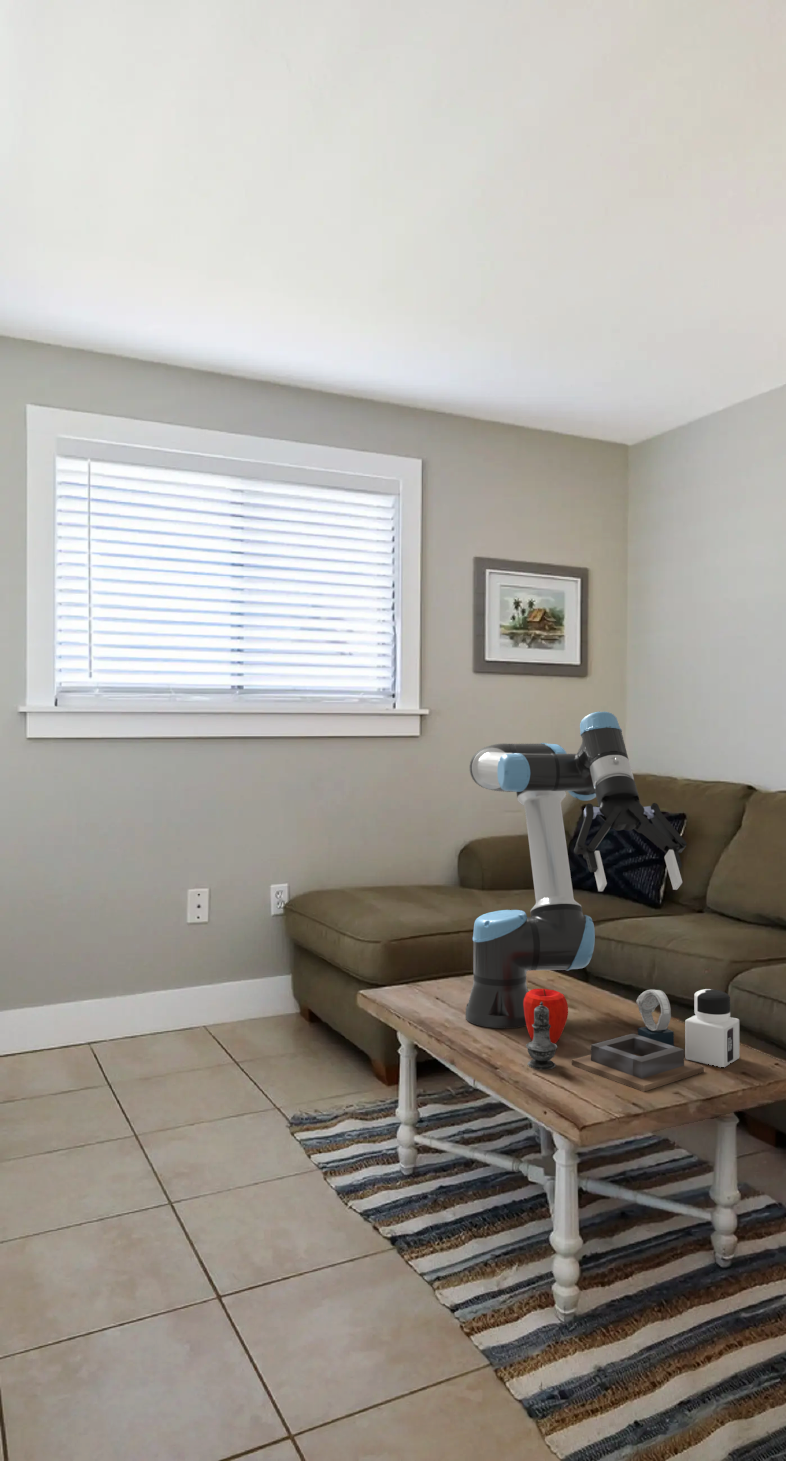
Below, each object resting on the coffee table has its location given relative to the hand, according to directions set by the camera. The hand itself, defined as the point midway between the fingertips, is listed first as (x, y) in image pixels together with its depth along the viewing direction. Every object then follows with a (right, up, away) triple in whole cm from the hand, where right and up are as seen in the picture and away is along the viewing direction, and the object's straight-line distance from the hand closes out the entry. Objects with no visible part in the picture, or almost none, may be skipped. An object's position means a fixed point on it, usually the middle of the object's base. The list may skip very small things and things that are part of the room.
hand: (640, 887), depth 165 cm
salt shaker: (-15, -36, +15) cm, 42 cm away
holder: (+3, -36, +13) cm, 38 cm away
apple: (-12, -37, +28) cm, 48 cm away
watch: (+10, -37, +27) cm, 47 cm away
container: (+19, -36, +18) cm, 45 cm away
